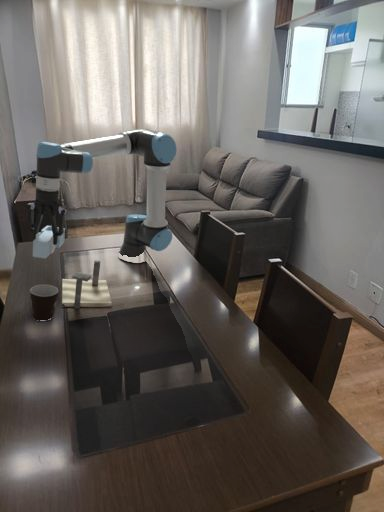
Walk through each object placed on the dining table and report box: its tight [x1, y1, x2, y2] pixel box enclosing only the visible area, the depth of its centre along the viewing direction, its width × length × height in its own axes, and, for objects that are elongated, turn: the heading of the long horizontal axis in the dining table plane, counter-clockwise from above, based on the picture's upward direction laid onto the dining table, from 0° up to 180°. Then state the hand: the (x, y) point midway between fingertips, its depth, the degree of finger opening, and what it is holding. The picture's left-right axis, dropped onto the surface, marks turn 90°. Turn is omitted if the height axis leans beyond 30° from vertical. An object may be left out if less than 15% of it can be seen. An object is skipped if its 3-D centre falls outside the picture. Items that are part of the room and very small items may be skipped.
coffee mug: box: [29, 283, 59, 322], centre depth 121 cm, size 12×9×10 cm
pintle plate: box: [61, 259, 113, 310], centre depth 139 cm, size 22×18×12 cm
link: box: [32, 225, 66, 259], centre depth 135 cm, size 19×7×6 cm, turn 3°
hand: (45, 251), depth 133 cm, fingers closed on link, 4 cm apart
